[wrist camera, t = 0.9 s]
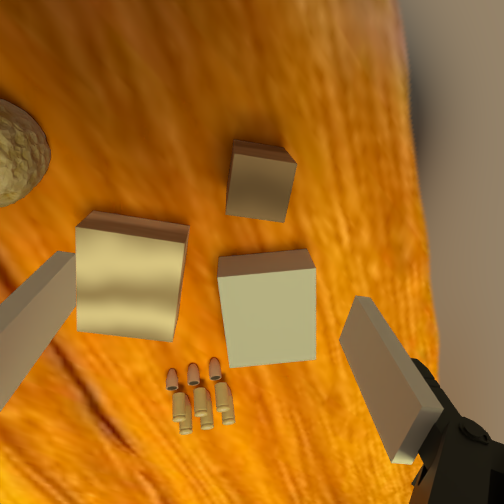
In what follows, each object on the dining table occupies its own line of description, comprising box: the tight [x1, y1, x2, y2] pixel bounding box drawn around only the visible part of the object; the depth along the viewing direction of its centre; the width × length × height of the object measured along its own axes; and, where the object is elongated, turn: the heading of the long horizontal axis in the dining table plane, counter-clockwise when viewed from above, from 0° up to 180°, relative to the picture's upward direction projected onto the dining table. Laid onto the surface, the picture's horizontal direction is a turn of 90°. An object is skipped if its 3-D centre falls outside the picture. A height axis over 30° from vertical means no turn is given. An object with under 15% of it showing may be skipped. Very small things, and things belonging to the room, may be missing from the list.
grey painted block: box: [217, 249, 316, 368], centre depth 40 cm, size 12×10×5 cm
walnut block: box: [226, 139, 297, 223], centre depth 32 cm, size 5×5×8 cm
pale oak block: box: [76, 210, 190, 342], centre depth 38 cm, size 12×10×5 cm
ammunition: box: [166, 358, 235, 435], centre depth 46 cm, size 5×7×8 cm
